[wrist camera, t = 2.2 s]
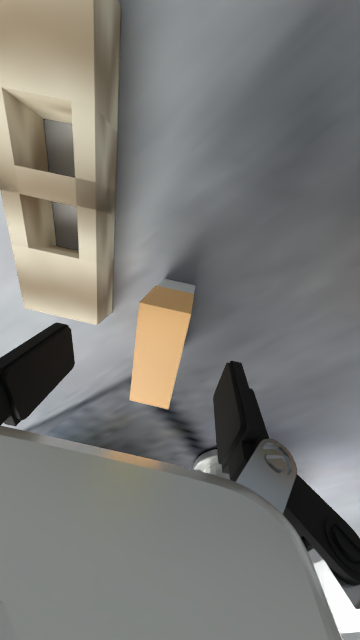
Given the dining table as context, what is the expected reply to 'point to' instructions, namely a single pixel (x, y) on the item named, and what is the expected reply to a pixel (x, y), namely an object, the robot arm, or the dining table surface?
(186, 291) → the light orange block
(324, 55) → the dining table surface
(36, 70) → the rail
